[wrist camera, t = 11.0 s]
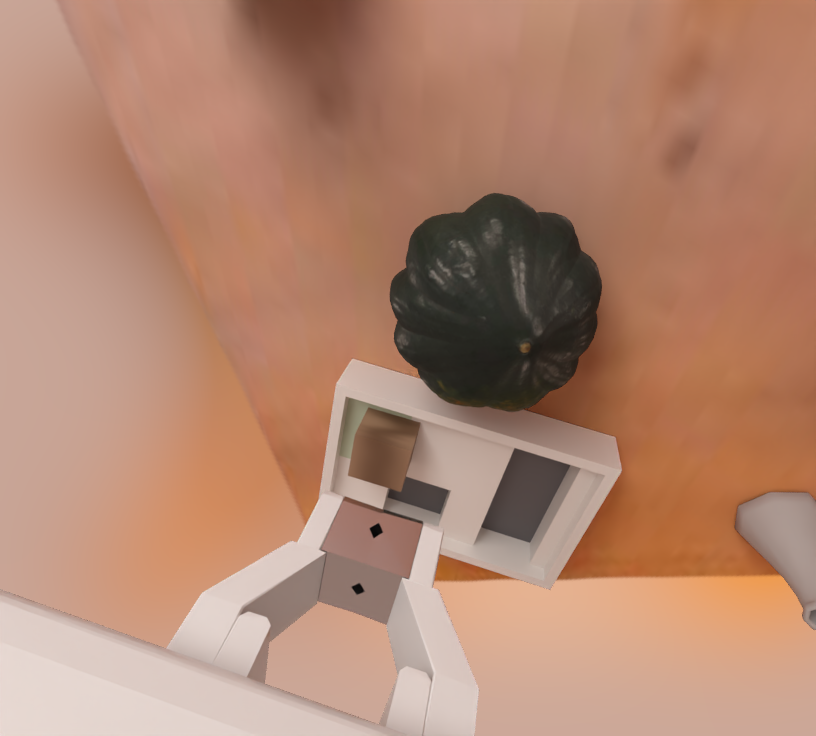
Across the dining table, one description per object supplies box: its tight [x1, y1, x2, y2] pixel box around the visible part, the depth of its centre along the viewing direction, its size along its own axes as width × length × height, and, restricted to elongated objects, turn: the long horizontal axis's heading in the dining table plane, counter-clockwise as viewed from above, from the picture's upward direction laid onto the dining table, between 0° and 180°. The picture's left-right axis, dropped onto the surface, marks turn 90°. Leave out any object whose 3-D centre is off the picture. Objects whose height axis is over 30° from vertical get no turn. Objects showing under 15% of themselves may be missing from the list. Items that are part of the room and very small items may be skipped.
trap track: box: [319, 359, 622, 590], centre depth 50 cm, size 25×17×4 cm
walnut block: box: [348, 407, 421, 492], centre depth 46 cm, size 5×5×4 cm
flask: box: [735, 492, 816, 630], centre depth 42 cm, size 7×7×10 cm
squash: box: [390, 193, 602, 412], centre depth 36 cm, size 14×15×15 cm
